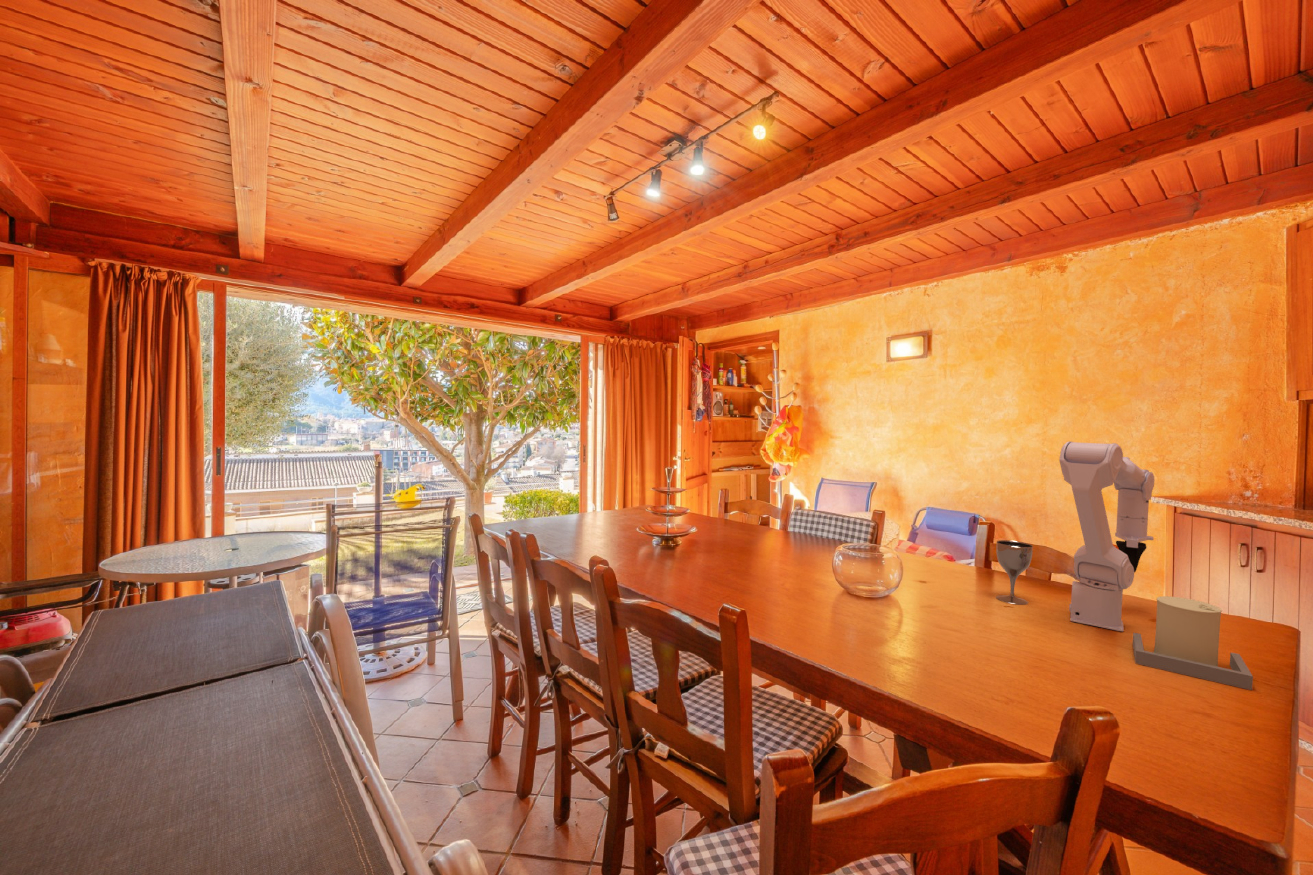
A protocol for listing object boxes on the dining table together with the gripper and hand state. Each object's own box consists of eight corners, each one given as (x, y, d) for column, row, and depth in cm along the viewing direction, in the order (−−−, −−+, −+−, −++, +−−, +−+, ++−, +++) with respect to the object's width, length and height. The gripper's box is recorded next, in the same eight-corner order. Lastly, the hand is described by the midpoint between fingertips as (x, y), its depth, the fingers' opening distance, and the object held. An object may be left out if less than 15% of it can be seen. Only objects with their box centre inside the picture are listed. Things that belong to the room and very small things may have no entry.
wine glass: (1031, 607, 135) (1034, 548, 135) (994, 601, 140) (996, 544, 139) (1029, 598, 142) (1031, 542, 142) (993, 593, 146) (996, 538, 146)
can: (1206, 675, 100) (1210, 612, 99) (1144, 655, 108) (1147, 597, 108) (1227, 666, 104) (1230, 605, 103) (1165, 648, 112) (1168, 591, 112)
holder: (1135, 663, 104) (1135, 650, 104) (1132, 644, 114) (1133, 632, 114) (1251, 690, 95) (1252, 676, 94) (1238, 666, 104) (1239, 654, 104)
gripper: (1156, 523, 124) (1153, 581, 125) (1152, 515, 135) (1149, 568, 136) (1116, 519, 129) (1113, 575, 129) (1115, 511, 140) (1113, 563, 140)
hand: (1129, 571), depth 133 cm, fingers closed
